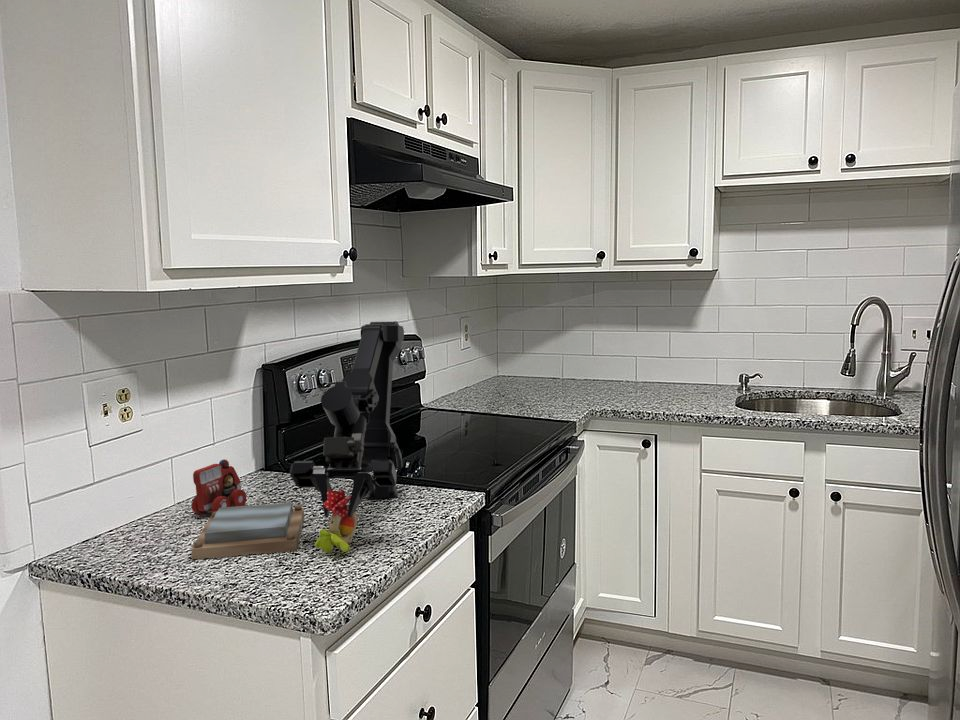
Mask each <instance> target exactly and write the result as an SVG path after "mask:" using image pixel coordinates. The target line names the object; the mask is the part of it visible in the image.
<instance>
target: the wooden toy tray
mask: <svg viewBox="0 0 960 720" xmlns="http://www.w3.org/2000/svg"><path fill="white" fill-rule="evenodd" d="M304 521H305V508H304V507H303V505H301V504H296V505H294V508H293V502H292V501H289V502H279V503H267V504H266V503H265V504H253V505H252V504H251V505H244V506H237V507H231V506H230V507H225V508H219V509H218V511H215V512H212V511H211V515H210V517H209V519H208V520H207V522H206V524H205V525H204V527H203V529H202V530H201V532H200V533H199V536H198V537H197V538H196V540H195V541H194V542H193V546H192V547H191V550H190V552H191V553H190V554H191V560H192V561H194V560H193V559H199V560H205V559H204V558H211V559H213V558H212V557H222V556H223V557H222V558H225V557H224V556H233V557H239V556H238V555H245V556H250V555H249V554H256V555H262V554H261V553H268V554H276V553H275V552H279V553H288V552H287V551H291V552H297V551H298V547H299V543H300V538H301V534H302V528H303V526H304V525H303V524H304ZM202 558H203V559H202Z"/></svg>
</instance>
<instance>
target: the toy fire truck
mask: <svg viewBox="0 0 960 720" xmlns="http://www.w3.org/2000/svg"><path fill="white" fill-rule="evenodd" d="M192 479H193V484H194V485H195V493H196V495H195V496H194V497H193V499H192V502H191V510H192V512H193V513H194V514H197V515H204V514H206V512H211V513H212V512H215V511H218V509H219V508H225V507H237V506H246V503H247V500H248V499H247V498H248V497H247V493H246V491H245V490H243V489H242V485H241V479H240V477H239V475H238V473H237V471H236V470H235V468H234V466H231V465H230V463H229V461H228V460H227V459H220V461H219V463H213V464H210V465H207V466H204V467H202V468H199V469H196V470H195V471H193V474H192Z"/></svg>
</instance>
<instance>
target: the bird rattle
mask: <svg viewBox="0 0 960 720" xmlns="http://www.w3.org/2000/svg"><path fill="white" fill-rule="evenodd" d="M350 499H351V495H347V496H346V492H345V490H344V489H340V490H337V491H336V490H333V489H332V490H328V491H327V501H325V502H324V507H325V508H326V509H328V510H330V512H332V515H331V517H330V519H329V522H328V523H329V525H328V530H326V528H321V529H320V530H319V537H318V538H317V539H316V541H315V543H314V547H315V548H317V549H319V550H322V551H324V553H326V554H328V553H331V552H332V551H333V549H334V546H335V547H337V548H338V549H341V551H342V552H344V553H346V552H350V551H351V546H350V545H349V544H351V543H352V541H353V537H354V535H355V532H356V529H357V525H358V514H357V512H356V511H355V512H354V514H353V515H352V517H349V516H348V510H349V504H348V503H350Z"/></svg>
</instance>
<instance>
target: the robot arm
mask: <svg viewBox="0 0 960 720" xmlns="http://www.w3.org/2000/svg"><path fill="white" fill-rule="evenodd" d="M404 339H405V329H404V326H403V325H400V324H399V322H398V321H392V320H391V321H371V322H370V323H368V324H365V325H361V327H360V340H359V345H358V347H357V350H356V354H355V358H354V362H353V365H352V369H351V371H350V372H349V373H348V374H347V375H346V376H344V377H343V378H342V379H341V381H335V383H334V386H332V387H329V388H328V389H326V391H325V392H324V393H323V394H322V395H321V397H320V404H321V406H322V408H323V410H324V412H325V415H326V417H328V420H329V422H330V423H331V425H333V426H335V428H334V434H333V436H330V437H329V436H327V437H324V438H323V450H322V451H323V452H322V456H323V457H325V463H326V464H327V465H329V466H328V467H326V466H324V465H316V463H315V461H314V460H295V461H294V462H293V463H292V464H291V465H290V469H289V476H290V477H291V479H292V480H293V483H294V485H295V486H296V488H300V489H306V488H307V489H311V488H313V489H315V490H316V491H317V492H320V493H319V494H320V496H321V497H320V498H321V502H322V507H323V513H324V517H325V518H326V519H327V518H329V516H330V512H331V511H330V510H328V509H326V508H325V507H324V502H325V501H327V491H328V490H332V491H333V488H332V485H331V483H330V481H331V479H353V485H352V491H351V495H350V496H351V499H350V501H349V502H348V503H349V504H348V505H349V510H348V516H349V517H352V515H353V514H354V512H355V511H356V510H357V509H358V507H359V506H360V504H361V503H362V501H363V500H364V499H365V497H366V499H367V500H377V499H391V498H397V497H398V492H397V470H399V469H402V468H403V459H402V458H403V457H402V456H403V455H402V452H401V449H400V448H399V445H398V443H397V437H396V435H395V433H394V430H393V429H392V427H391V424H390V421H391V420H390V418H391V404H392V403H391V402H392V401H391V399H392V383H393V365H394V361H395V360H396V358H397V356H398V355H399V354H400V352H401V349H402V342H404V341H405V340H404ZM362 413H365V414H366V413H368V422H367V418H366V417H365V416H364V414H362Z"/></svg>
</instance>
